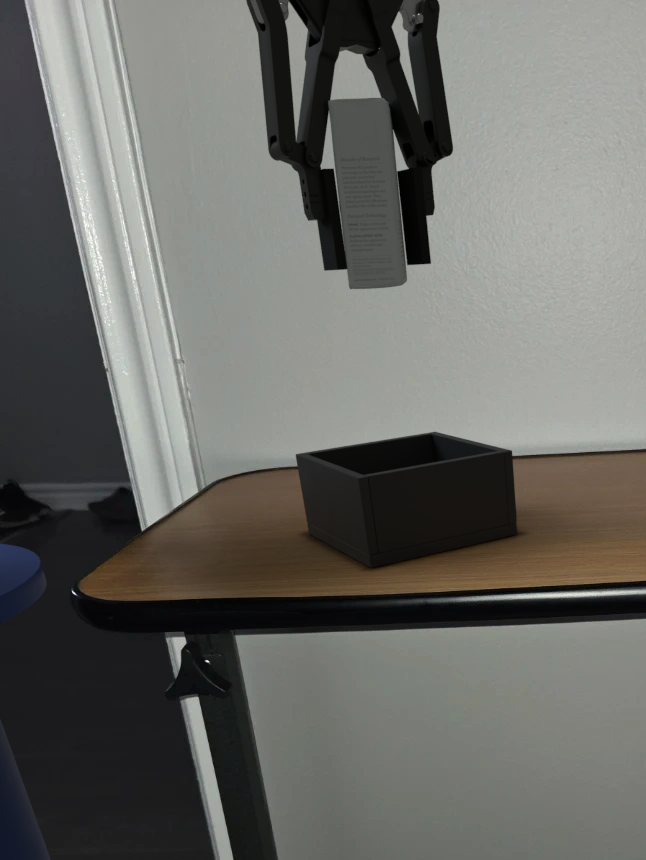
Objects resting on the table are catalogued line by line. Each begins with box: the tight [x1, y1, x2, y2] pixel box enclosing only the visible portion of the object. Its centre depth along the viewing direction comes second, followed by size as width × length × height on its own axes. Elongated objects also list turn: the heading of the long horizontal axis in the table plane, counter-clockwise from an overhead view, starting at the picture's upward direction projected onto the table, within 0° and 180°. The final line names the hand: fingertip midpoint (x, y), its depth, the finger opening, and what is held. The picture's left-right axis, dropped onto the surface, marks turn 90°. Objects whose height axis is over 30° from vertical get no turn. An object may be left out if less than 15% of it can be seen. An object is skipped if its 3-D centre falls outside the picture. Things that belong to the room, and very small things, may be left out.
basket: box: [295, 431, 518, 569], centre depth 79 cm, size 14×14×7 cm
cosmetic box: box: [328, 97, 408, 290], centre depth 70 cm, size 6×4×12 cm
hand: (378, 266), depth 72 cm, fingers closed on cosmetic box, 6 cm apart
